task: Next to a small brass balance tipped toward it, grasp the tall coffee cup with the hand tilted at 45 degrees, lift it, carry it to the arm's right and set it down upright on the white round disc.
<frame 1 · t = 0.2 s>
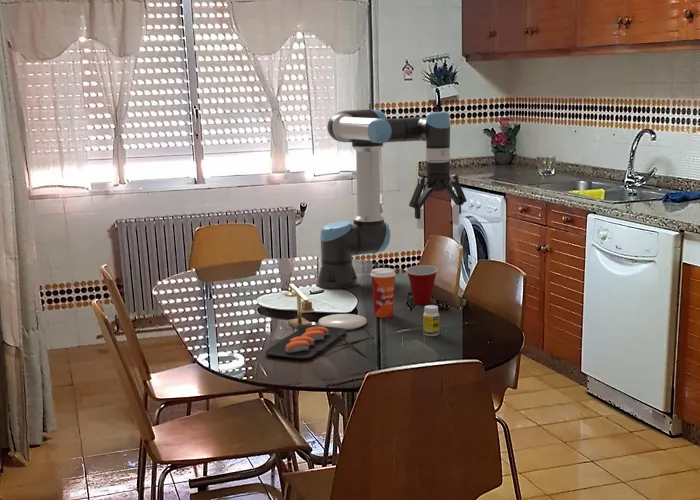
hand: (438, 226, 260), 28 cm above the table, tool pointing down, fingers open, 13 cm apart
coffee cup: (383, 315, 260), on the table
sushi plate: (332, 350, 229), on the table
plastic cup: (422, 303, 275), on the table
balance: (299, 325, 251), on the table
supplement bottle: (431, 334, 239), on the table
white round disc: (342, 324, 251), on the table
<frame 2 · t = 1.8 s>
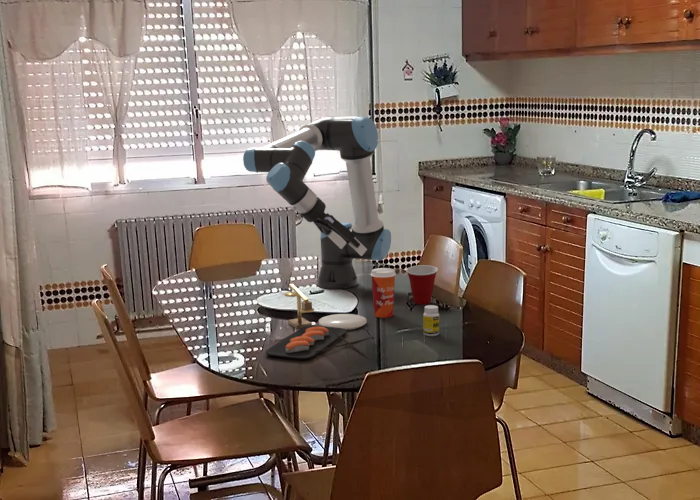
hand: (353, 249, 251), 23 cm above the table, tool tilted 45°, fingers open, 13 cm apart
nothing on the table moved.
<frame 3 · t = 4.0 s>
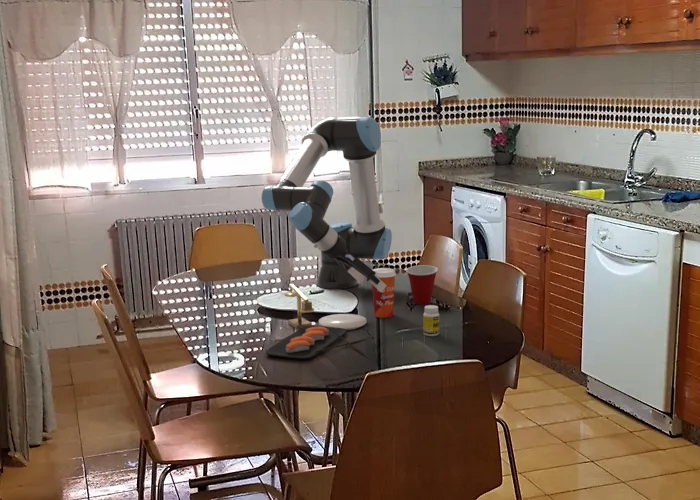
hand: (373, 284, 255), 11 cm above the table, tool tilted 45°, fingers open, 13 cm apart
nothing on the table moved.
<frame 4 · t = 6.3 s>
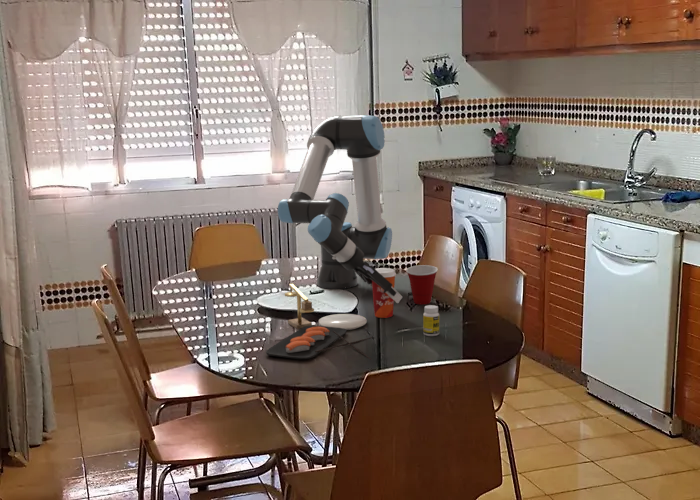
hand: (392, 296, 260), 6 cm above the table, tool tilted 45°, fingers closed on coffee cup, 8 cm apart
coffee cup: (383, 315, 260), on the table, touching gripper
everything else where it was.
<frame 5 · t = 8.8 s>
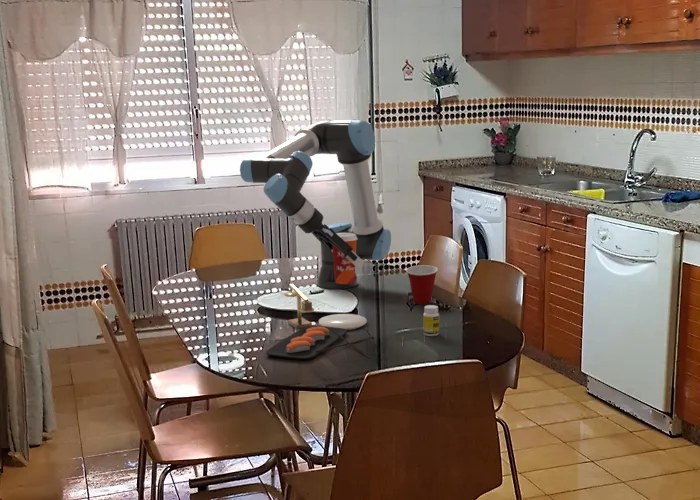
hand: (354, 262, 250), 19 cm above the table, tool tilted 45°, fingers closed on coffee cup, 8 cm apart
coffee cup: (345, 282, 249), point 13 cm above the table, touching gripper
everything else where it was.
when the fingers open (8 cm above the table, at t = 11.4 s): coffee cup drops 1 cm, resting on white round disc.
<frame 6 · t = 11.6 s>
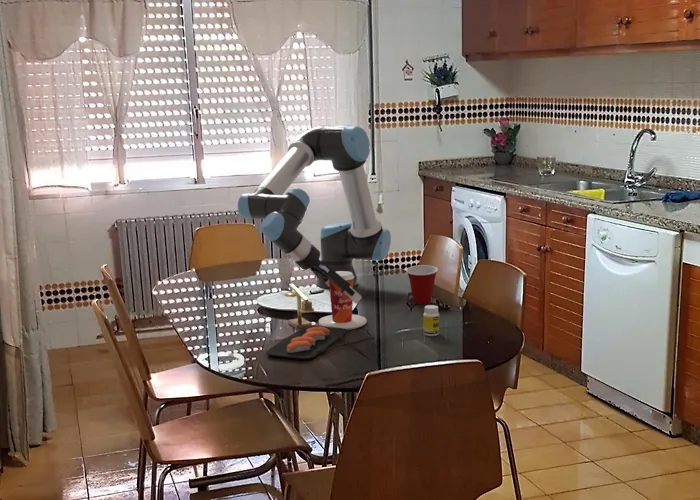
hand: (350, 296, 251), 9 cm above the table, tool tilted 45°, fingers open, 11 cm apart
coffee cup: (342, 320, 251), point 1 cm above the table, touching white round disc
everything else where it was.
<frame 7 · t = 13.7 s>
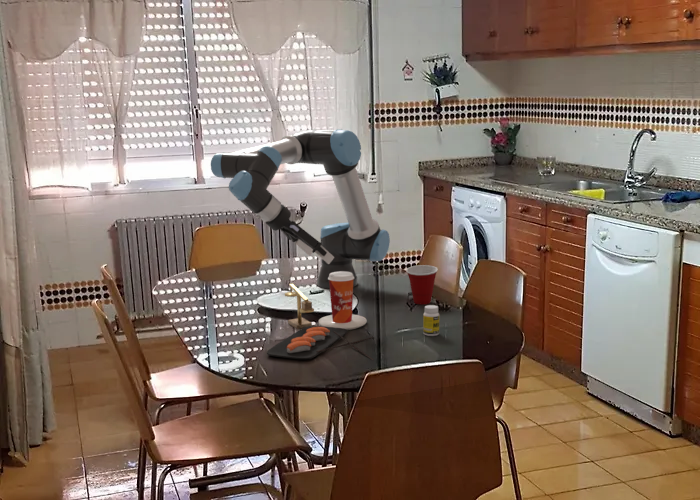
hand: (321, 256, 245), 22 cm above the table, tool tilted 45°, fingers open, 13 cm apart
nothing on the table moved.
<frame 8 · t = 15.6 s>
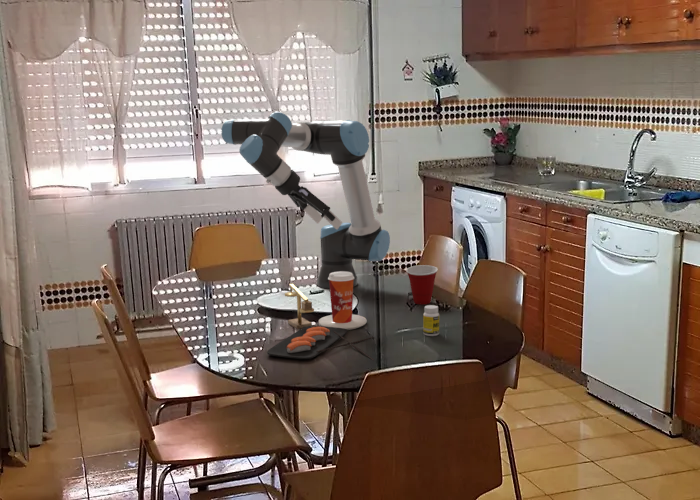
hand: (329, 223, 248), 32 cm above the table, tool tilted 45°, fingers open, 13 cm apart
nothing on the table moved.
at the end: coffee cup 0.1 cm from the white round disc (horizontally); coffee cup tilted 0°; the gripper is holding nothing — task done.
